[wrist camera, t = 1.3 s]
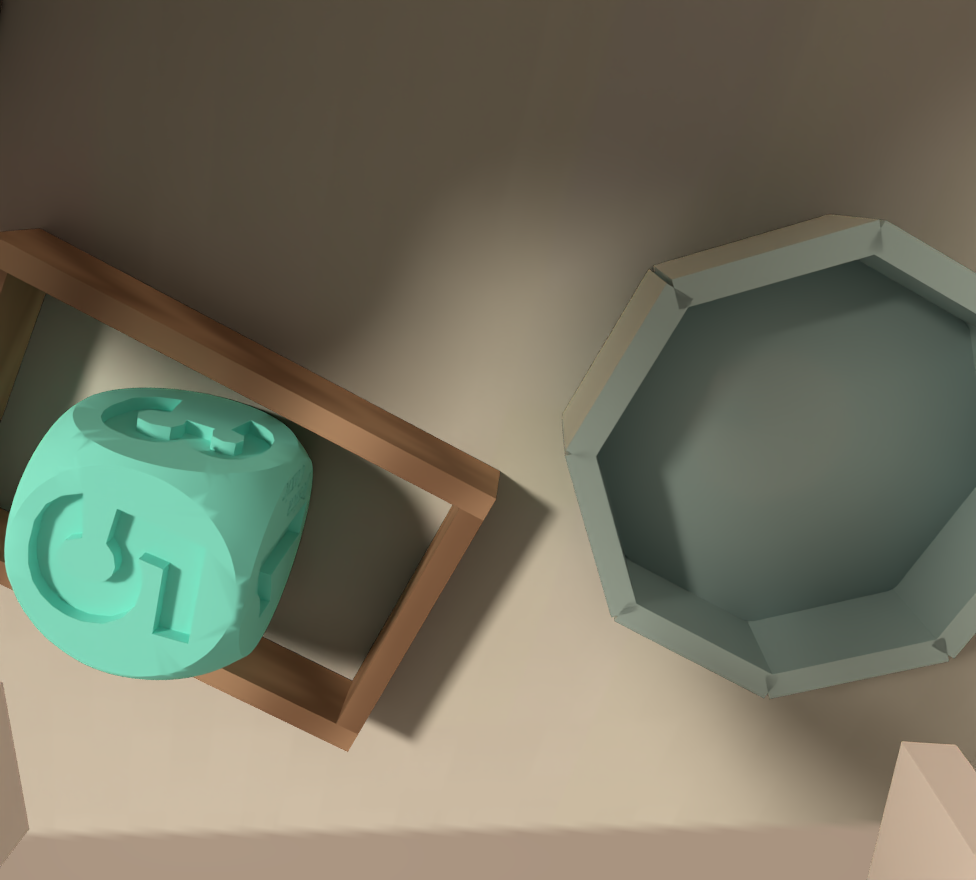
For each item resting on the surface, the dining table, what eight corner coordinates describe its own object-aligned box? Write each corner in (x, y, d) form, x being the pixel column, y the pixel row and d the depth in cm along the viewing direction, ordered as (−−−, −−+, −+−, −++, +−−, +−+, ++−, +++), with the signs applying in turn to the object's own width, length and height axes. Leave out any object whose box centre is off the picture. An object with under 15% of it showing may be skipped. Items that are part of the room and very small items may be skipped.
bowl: (504, 512, 33) (498, 561, 29) (720, 147, 29) (752, 141, 24) (831, 683, 35) (872, 754, 31) (1089, 363, 30) (1180, 393, 26)
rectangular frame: (-55, 503, 35) (-108, 532, 32) (39, 228, 31) (-12, 233, 28) (362, 707, 37) (347, 751, 34) (500, 471, 33) (496, 498, 30)
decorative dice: (289, 595, 35) (220, 708, 28) (110, 544, 35) (-10, 645, 27) (328, 425, 33) (263, 499, 25) (135, 370, 33) (11, 427, 25)
